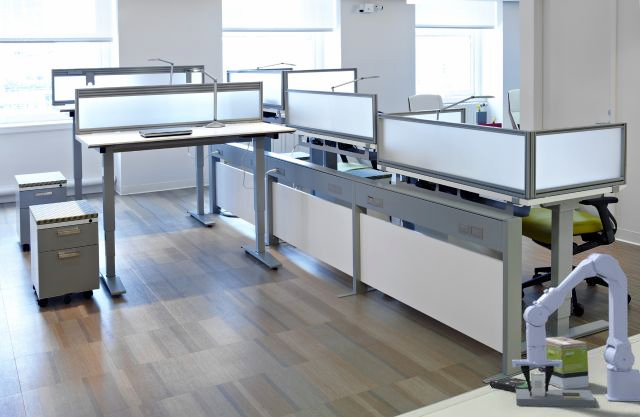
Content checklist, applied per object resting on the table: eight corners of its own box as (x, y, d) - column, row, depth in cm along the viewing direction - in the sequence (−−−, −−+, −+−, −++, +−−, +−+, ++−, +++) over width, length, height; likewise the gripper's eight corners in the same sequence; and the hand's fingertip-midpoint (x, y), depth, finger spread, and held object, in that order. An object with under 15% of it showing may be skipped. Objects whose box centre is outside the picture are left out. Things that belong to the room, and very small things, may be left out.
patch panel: (590, 396, 236) (589, 389, 236) (595, 407, 222) (595, 399, 222) (516, 395, 241) (515, 388, 241) (516, 405, 227) (516, 398, 227)
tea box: (537, 381, 262) (535, 337, 262) (563, 379, 264) (561, 335, 265) (563, 389, 247) (561, 343, 248) (590, 387, 250) (588, 341, 250)
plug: (544, 399, 234) (543, 372, 235) (545, 403, 229) (544, 376, 230) (532, 399, 235) (531, 372, 235) (532, 402, 230) (531, 375, 230)
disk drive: (489, 389, 254) (522, 396, 241) (488, 380, 254) (522, 387, 242) (511, 385, 259) (545, 391, 247) (511, 376, 260) (545, 383, 247)
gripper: (511, 347, 231) (513, 393, 230) (562, 348, 227) (564, 394, 227) (511, 344, 238) (513, 388, 237) (560, 344, 234) (562, 389, 234)
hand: (538, 391), depth 233 cm, fingers open, 4 cm apart
